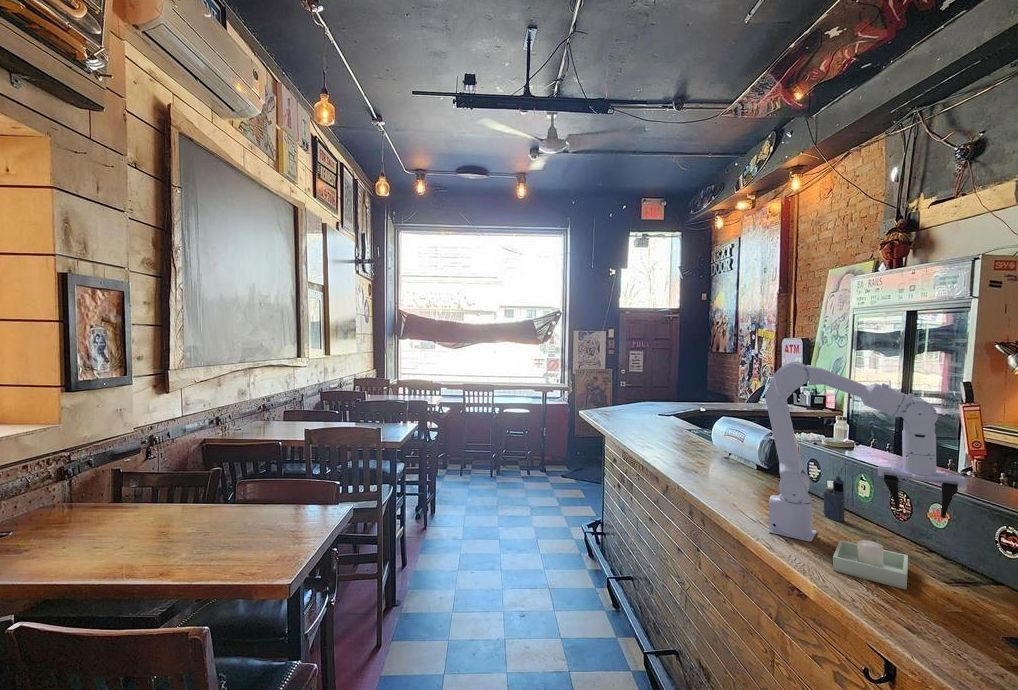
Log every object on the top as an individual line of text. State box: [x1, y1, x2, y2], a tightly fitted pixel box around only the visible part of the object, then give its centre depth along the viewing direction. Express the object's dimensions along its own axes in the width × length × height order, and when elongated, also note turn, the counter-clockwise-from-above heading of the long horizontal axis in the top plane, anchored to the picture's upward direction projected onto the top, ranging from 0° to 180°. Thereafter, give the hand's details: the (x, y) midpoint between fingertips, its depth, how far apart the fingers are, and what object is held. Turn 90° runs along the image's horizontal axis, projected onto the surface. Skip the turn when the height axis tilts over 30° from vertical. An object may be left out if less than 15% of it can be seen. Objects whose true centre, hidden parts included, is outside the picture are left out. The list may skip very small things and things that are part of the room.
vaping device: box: [823, 476, 845, 523], centre depth 128 cm, size 3×5×12 cm, turn 16°
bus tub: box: [832, 539, 909, 591], centre depth 99 cm, size 12×11×3 cm
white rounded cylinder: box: [856, 539, 884, 568], centre depth 99 cm, size 4×4×5 cm
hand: (919, 512), depth 104 cm, fingers open, 7 cm apart
